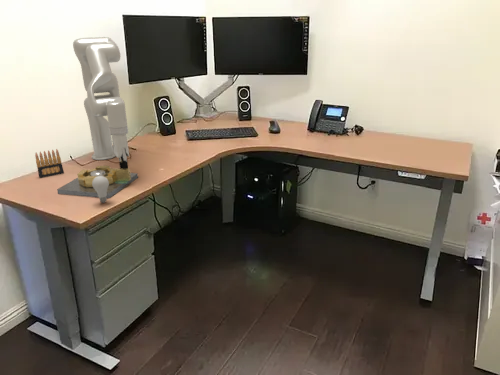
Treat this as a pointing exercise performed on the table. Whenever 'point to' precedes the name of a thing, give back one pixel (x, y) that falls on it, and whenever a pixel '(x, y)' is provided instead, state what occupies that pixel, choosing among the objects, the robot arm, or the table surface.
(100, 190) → the lightbulb
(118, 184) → the housing
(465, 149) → the table surface
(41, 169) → the ammunition clip
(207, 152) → the table surface
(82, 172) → the ring nut
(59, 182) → the table surface
